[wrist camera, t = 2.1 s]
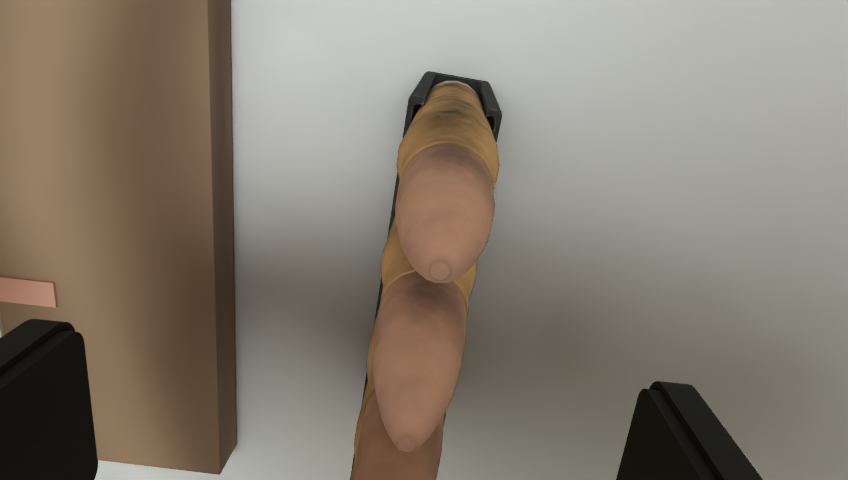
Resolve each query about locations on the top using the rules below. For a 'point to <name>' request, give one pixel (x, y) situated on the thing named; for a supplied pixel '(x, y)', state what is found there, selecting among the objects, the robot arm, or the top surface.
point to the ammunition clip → (427, 276)
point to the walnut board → (126, 212)
